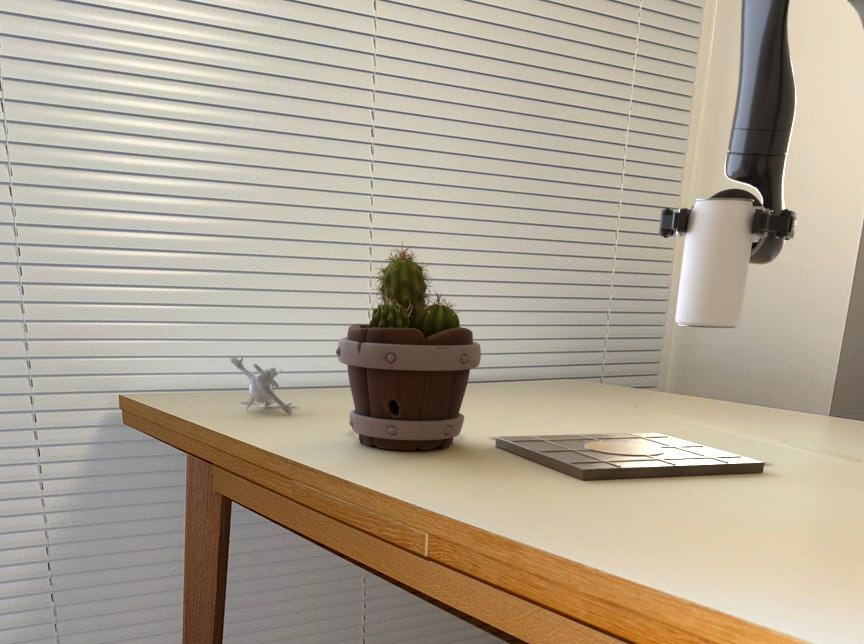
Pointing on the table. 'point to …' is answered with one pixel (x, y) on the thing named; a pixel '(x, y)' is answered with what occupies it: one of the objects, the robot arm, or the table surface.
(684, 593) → the table surface
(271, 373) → the spiky grey figurine
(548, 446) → the board
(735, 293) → the can
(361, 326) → the flowerpot
